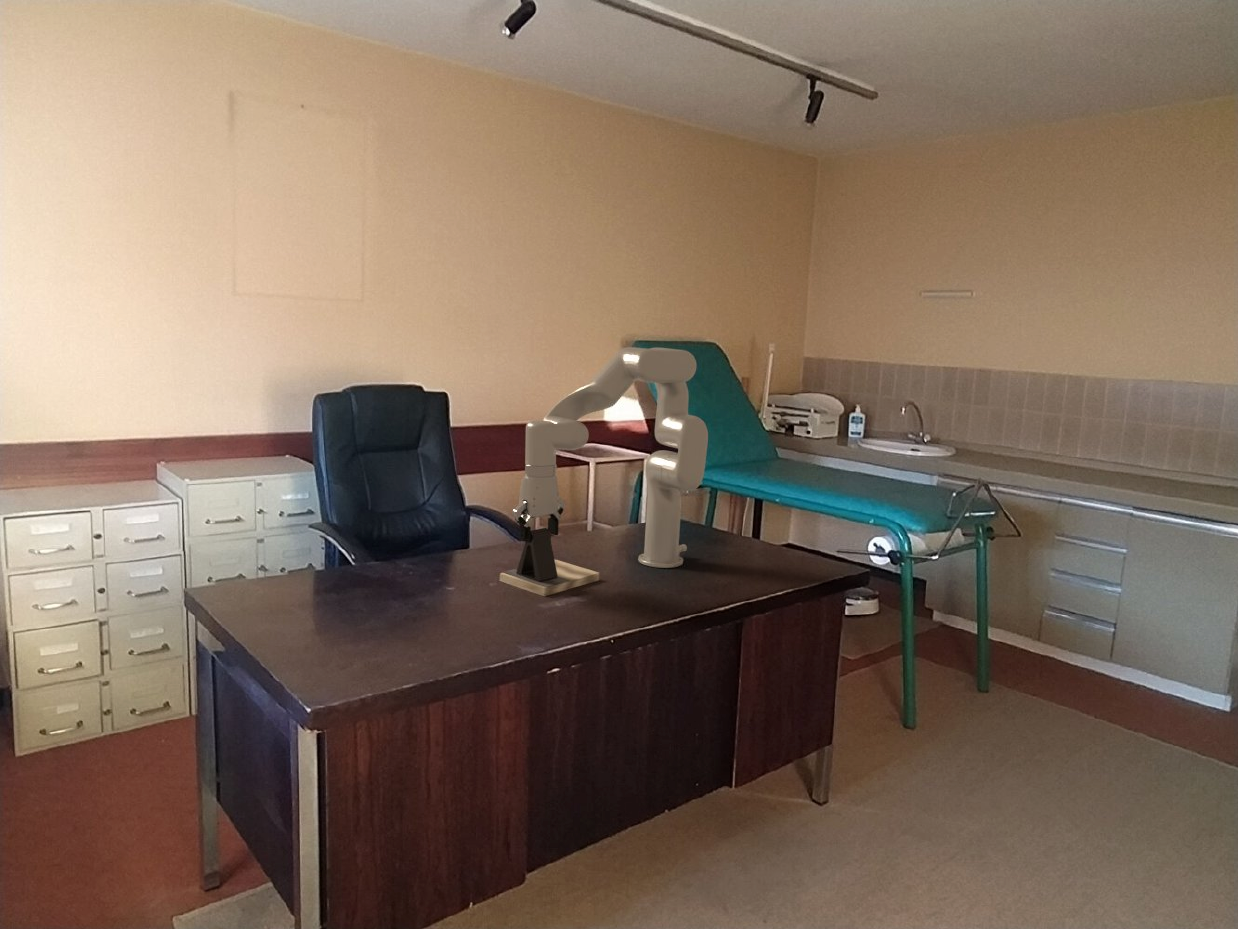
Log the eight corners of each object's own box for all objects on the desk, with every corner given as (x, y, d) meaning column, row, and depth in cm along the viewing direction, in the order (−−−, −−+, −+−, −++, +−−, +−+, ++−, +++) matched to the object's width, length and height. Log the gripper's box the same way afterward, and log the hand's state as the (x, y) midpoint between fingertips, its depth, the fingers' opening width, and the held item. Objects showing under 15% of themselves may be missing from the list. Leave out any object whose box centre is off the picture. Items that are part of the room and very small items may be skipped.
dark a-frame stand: (557, 578, 225) (559, 531, 223) (539, 582, 220) (541, 535, 218) (534, 569, 231) (535, 524, 229) (516, 573, 226) (517, 527, 224)
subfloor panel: (555, 566, 242) (555, 558, 242) (599, 580, 232) (599, 572, 232) (499, 581, 227) (499, 572, 227) (544, 596, 217) (544, 587, 217)
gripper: (554, 464, 230) (552, 528, 233) (503, 473, 217) (503, 541, 220) (575, 468, 225) (573, 534, 228) (525, 477, 212) (524, 547, 215)
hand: (539, 537), depth 224 cm, fingers open, 9 cm apart
